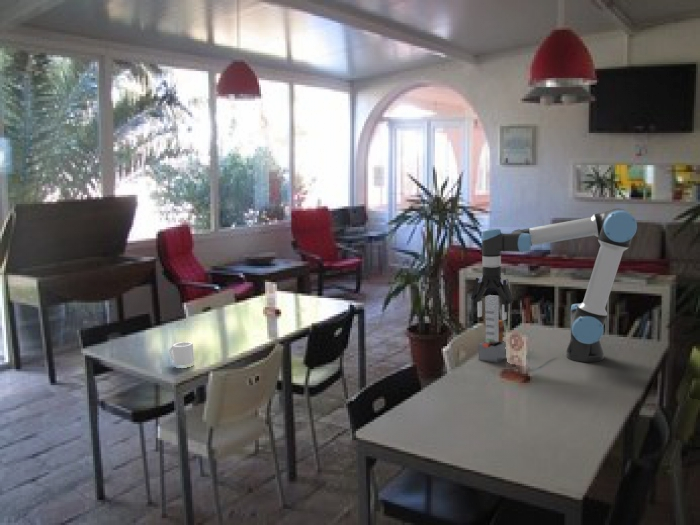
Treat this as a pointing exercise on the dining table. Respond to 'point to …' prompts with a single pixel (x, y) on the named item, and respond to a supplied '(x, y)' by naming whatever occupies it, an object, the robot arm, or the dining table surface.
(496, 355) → the stand base
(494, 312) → the column
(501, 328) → the mug
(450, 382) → the dining table surface
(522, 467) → the dining table surface
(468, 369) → the dining table surface
